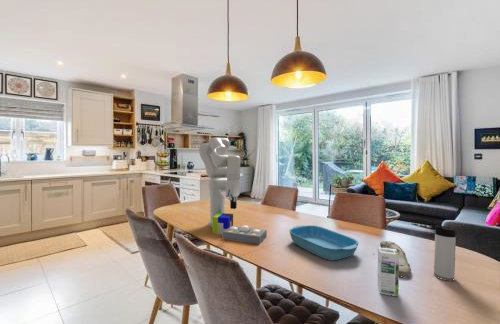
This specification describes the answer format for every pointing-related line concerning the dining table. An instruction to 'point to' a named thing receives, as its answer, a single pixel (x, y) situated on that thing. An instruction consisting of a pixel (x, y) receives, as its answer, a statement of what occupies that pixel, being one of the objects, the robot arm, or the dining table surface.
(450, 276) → the travel mug
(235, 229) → the button
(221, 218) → the puzzle toy
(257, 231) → the button
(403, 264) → the long grey stone
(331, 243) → the casserole dish
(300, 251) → the dining table surface
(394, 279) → the syrup box
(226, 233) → the button board
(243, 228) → the middle button
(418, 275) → the dining table surface
